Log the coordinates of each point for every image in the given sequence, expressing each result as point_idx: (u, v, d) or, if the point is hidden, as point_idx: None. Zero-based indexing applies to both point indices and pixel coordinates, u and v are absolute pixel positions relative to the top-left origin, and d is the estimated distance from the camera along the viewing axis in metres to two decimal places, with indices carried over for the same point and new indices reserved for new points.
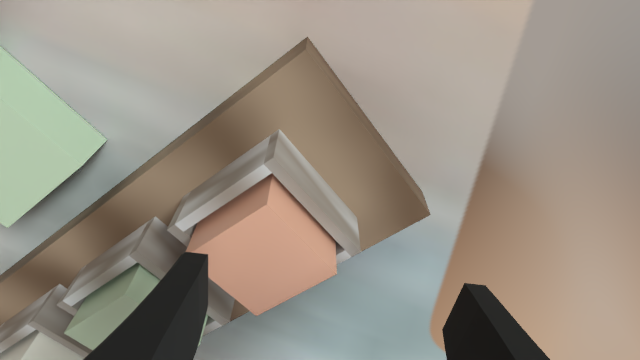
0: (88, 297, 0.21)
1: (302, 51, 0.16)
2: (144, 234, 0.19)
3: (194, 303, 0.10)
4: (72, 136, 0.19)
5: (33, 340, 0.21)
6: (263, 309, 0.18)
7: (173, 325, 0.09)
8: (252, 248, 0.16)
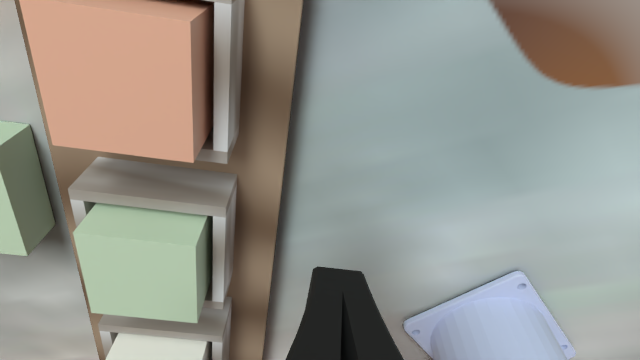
0: None
1: None
2: (82, 173, 0.17)
3: None
4: None
5: None
6: (189, 148, 0.13)
7: None
8: (81, 72, 0.12)
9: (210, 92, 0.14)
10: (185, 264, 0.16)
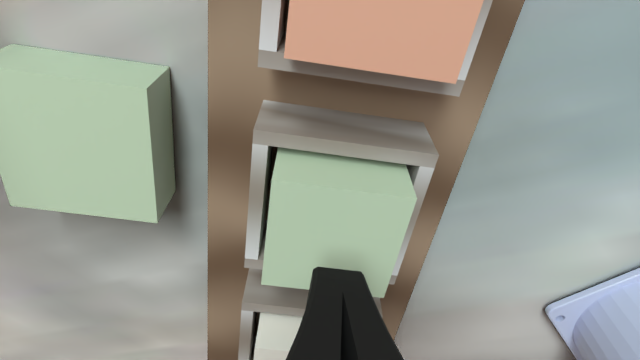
0: None
1: None
2: (258, 115, 0.14)
3: None
4: (125, 74, 0.15)
5: None
6: (457, 62, 0.10)
7: None
8: None
9: None
10: (395, 222, 0.13)
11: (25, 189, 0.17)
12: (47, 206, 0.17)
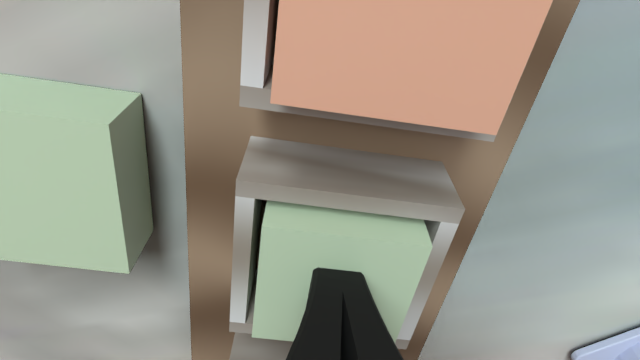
0: None
1: None
2: (243, 159, 0.11)
3: None
4: (85, 105, 0.13)
5: None
6: (500, 109, 0.08)
7: None
8: None
9: None
10: (407, 272, 0.11)
11: None
12: None
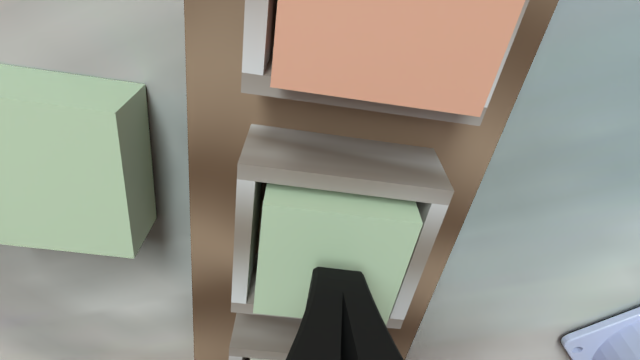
0: None
1: None
2: (244, 144, 0.12)
3: None
4: (92, 94, 0.13)
5: None
6: (483, 92, 0.08)
7: None
8: None
9: None
10: (399, 248, 0.12)
11: None
12: (9, 241, 0.15)
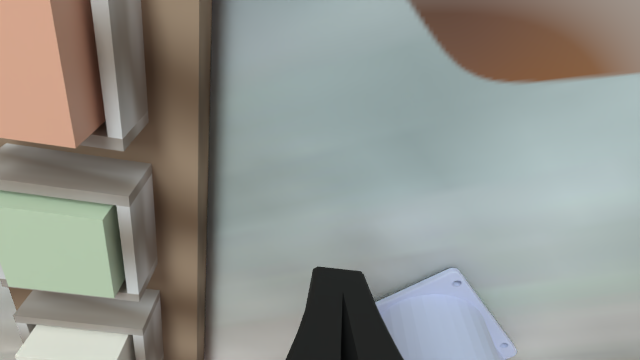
0: None
1: None
2: None
3: None
4: None
5: (31, 334, 0.20)
6: (68, 133, 0.13)
7: None
8: None
9: None
10: (94, 238, 0.16)
11: None
12: None
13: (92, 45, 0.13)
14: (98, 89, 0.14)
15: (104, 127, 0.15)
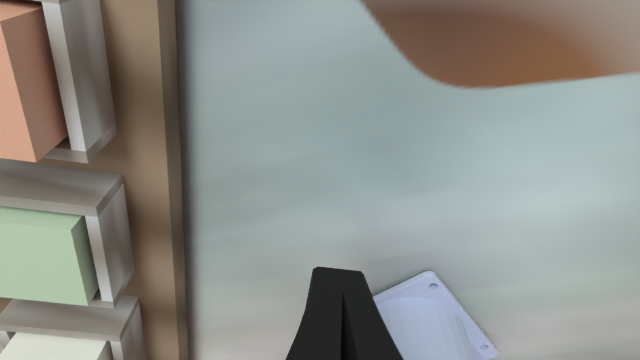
0: None
1: None
2: None
3: None
4: None
5: (11, 342, 0.20)
6: (28, 147, 0.13)
7: None
8: None
9: None
10: (64, 248, 0.16)
11: None
12: None
13: (51, 62, 0.13)
14: (60, 104, 0.14)
15: (69, 140, 0.15)
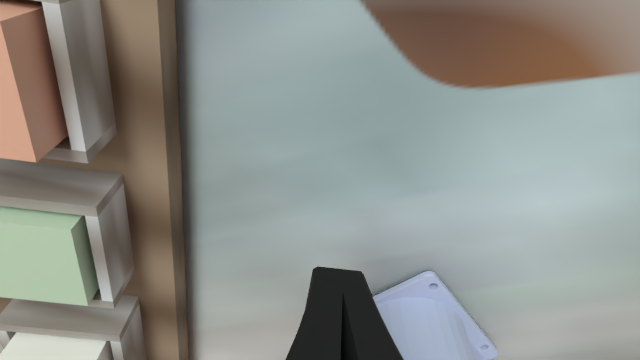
0: None
1: None
2: None
3: None
4: None
5: (11, 342, 0.20)
6: (28, 147, 0.13)
7: None
8: None
9: None
10: (64, 248, 0.16)
11: None
12: None
13: (51, 62, 0.13)
14: (60, 104, 0.14)
15: (69, 140, 0.15)
